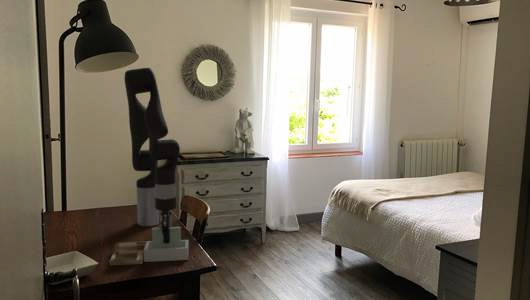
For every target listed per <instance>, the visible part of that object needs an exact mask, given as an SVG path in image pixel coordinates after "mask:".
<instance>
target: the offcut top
mask: <svg viewBox="0 0 530 300" xmlns="http://www.w3.org/2000/svg"><path fill="white" fill-rule="evenodd" d="M135 242H136V243H124V244H119V254H127V253H137V242H138V241H135Z"/></svg>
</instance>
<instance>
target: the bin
mask: <svg viewBox="0 0 530 300" xmlns="http://www.w3.org/2000/svg"><path fill="white" fill-rule="evenodd" d="M145 242H146V245H145V248H144V261H143V263H144V262H145V263H147V262H169V261H171V262H172V261H174V262H175V261H188V260H189V243H190V242H189V239H181V248H159V249H153V245H152V240H148V241H145Z"/></svg>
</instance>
